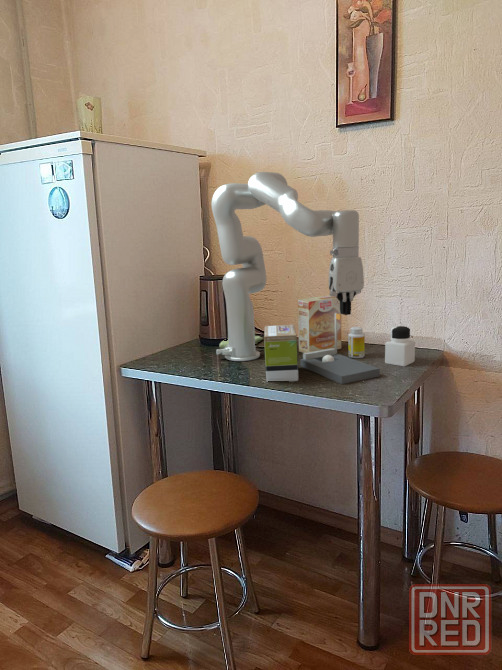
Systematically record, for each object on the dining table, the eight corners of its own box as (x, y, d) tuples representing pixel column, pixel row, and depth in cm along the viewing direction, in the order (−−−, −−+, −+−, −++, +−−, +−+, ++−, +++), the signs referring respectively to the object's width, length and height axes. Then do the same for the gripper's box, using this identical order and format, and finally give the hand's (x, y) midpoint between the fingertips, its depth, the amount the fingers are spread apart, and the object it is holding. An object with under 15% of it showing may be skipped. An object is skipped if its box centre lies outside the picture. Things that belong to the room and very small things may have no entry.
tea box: (265, 368, 173) (264, 324, 170) (296, 367, 173) (295, 323, 170) (265, 382, 159) (263, 335, 155) (299, 381, 158) (297, 333, 155)
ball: (318, 362, 173) (325, 371, 171) (321, 354, 171) (328, 362, 168) (327, 359, 175) (335, 367, 173) (330, 350, 172) (338, 359, 170)
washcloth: (264, 341, 214) (264, 333, 213) (248, 352, 198) (247, 343, 197) (234, 339, 218) (234, 332, 218) (216, 350, 203) (216, 342, 202)
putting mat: (341, 384, 154) (341, 329, 150) (300, 366, 174) (299, 317, 171) (379, 376, 160) (380, 323, 156) (335, 359, 180) (335, 312, 177)
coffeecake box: (309, 355, 187) (308, 301, 183) (298, 351, 193) (296, 299, 189) (342, 348, 194) (342, 296, 190) (330, 345, 200) (329, 294, 196)
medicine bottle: (414, 361, 173) (415, 326, 171) (404, 366, 168) (405, 330, 166) (395, 358, 178) (395, 324, 176) (384, 363, 173) (385, 327, 171)
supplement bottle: (367, 356, 182) (368, 327, 180) (357, 359, 179) (357, 330, 177) (355, 353, 186) (355, 325, 184) (344, 356, 183) (344, 328, 181)
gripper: (331, 255, 149) (332, 319, 153) (374, 252, 155) (373, 313, 159) (317, 254, 155) (317, 315, 160) (358, 251, 162) (357, 309, 166)
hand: (345, 314), depth 159 cm, fingers closed
